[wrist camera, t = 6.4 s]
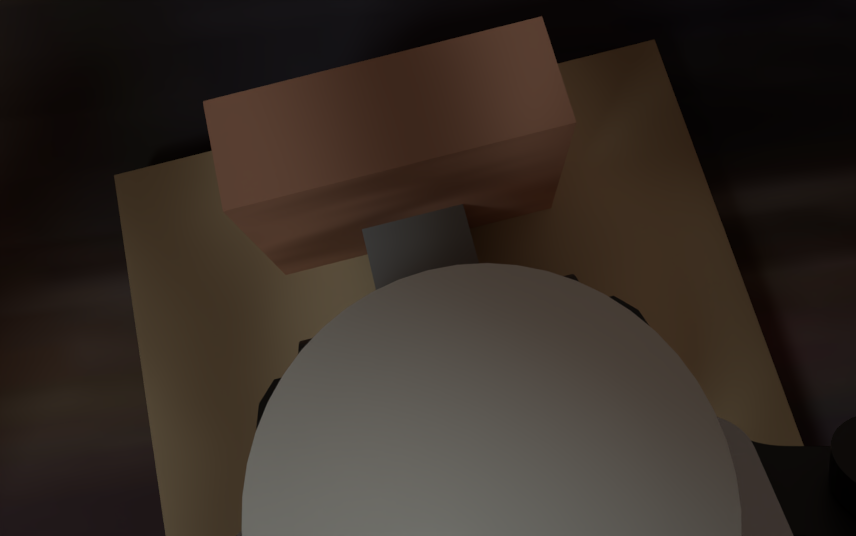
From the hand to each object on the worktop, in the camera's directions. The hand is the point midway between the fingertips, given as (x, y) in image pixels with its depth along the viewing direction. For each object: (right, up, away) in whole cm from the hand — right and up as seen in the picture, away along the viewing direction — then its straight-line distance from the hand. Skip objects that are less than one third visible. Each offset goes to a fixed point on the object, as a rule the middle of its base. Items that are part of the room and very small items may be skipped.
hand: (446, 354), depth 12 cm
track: (+1, -2, +7) cm, 8 cm away
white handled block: (+1, -3, +5) cm, 6 cm away
